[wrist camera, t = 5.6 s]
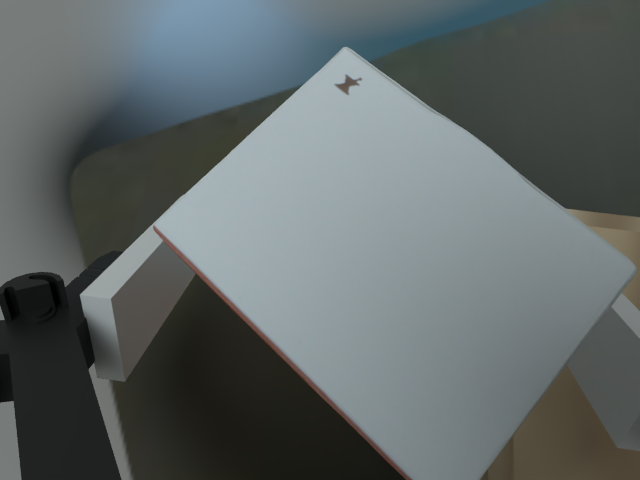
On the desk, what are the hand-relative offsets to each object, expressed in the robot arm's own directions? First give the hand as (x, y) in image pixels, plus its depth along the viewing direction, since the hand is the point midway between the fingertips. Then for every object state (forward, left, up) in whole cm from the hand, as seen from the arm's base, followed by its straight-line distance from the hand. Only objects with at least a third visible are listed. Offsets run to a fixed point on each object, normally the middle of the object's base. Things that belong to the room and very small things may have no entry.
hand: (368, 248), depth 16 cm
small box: (0, +2, -6) cm, 6 cm away
